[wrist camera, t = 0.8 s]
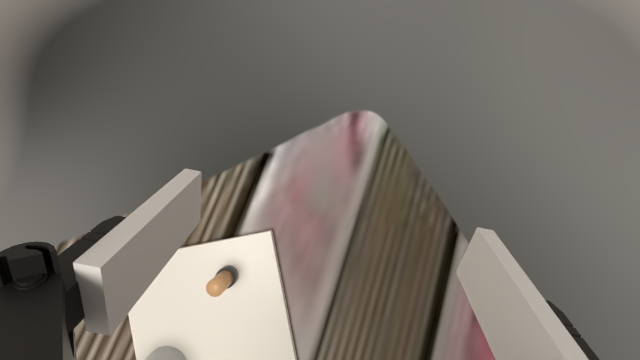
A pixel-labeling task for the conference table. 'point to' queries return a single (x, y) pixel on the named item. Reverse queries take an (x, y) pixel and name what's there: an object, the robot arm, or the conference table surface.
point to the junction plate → (216, 304)
